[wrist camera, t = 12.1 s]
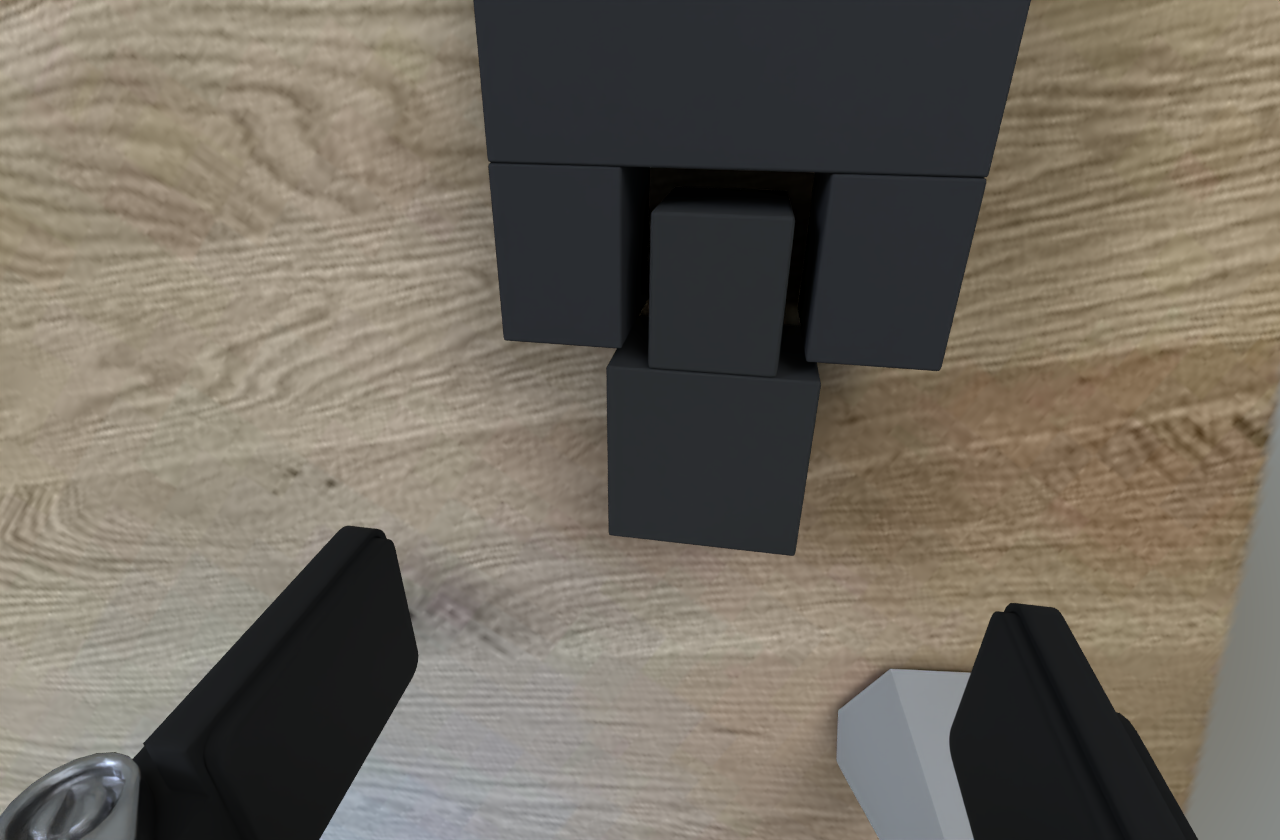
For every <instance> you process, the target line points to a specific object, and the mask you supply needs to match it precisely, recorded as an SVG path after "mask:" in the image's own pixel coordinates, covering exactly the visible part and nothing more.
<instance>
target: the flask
mask: <svg viewBox="0 0 1280 840" xmlns="http://www.w3.org/2000/svg"><path fill="white" fill-rule="evenodd" d="M970 674H971V673H966V672H946V671H926V670H905V669H889V670H888V671H887V672H886V673H884V674H883V675H882V676H881V677H879V678H878V679H877V680H876V681H874V682H873V683H872V684H871V685H869V686H868V687H867V688H866V689H864V690H863V691H862V692H861V693H859V694H858V695H857V696H856V697H854V698H853V699H852V700H851V701H849V702H848V703H847V704H846V705H844V706H843V707H842V708H841V709H839V710H838V733H837V759H836V761H837V763H838V765H839V767H840V769H841V771H842V772H843V774H844V776H845V778H846V780H847V782H848V784H849V786H850V787H851V789H852V791H853V793H854V795H855V796H856V798H857V800H858V802H859V804H860V805H861V807H862V809H863V811H864V813H865V814H866V816H867V818H868V820H869V821H870V823H871V825H872V827H873V829H874V830H875V832H876V834H877V836H878V838H879V839H880V840H974V838H973V835H972V831H971V827H970V824H969V820H968V817H967V813H966V809H965V806H964V802H963V798H962V795H961V791H960V788H959V784H958V780H957V777H956V773H955V769H954V766H953V762H952V759H951V754H950V747H949V735H950V729H951V726H952V723H953V721H954V718H955V715H956V712H957V710H958V707H959V704H960V701H961V699H962V696H963V693H964V690H965V688H966V685H967V682H968V679H969V677H970Z"/></svg>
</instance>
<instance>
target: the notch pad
mask: <svg viewBox="0 0 1280 840" xmlns="http://www.w3.org/2000/svg"><path fill="white" fill-rule="evenodd" d="M1030 2H1031V0H474V12H475V23H476V34H477V45H478V56H479V67H480V78H481V90H482V101H483V112H484V123H485V134H486V145H487V156H488V161H489V162H491V163H489V166H488V168H489V179H490V190H491V201H492V212H493V223H494V234H495V246H496V257H497V268H498V279H499V290H500V301H501V312H502V324H503V335H504V340H507V341H521V342H535V343H549V344H563V345H577V346H591V347H605V348H622V346H623V344H624V342H625V340H626V338H627V336H628V335H629V333H630V331H631V329H632V327H633V325H634V323H635V322H636V320H637V318H638V316H639V314H640V312H641V311H642V309H643V307H644V305H645V303H646V301H647V299H648V252H649V195H650V167H652V168H685V169H717V170H750V171H782V172H815V173H814V181H813V189H812V197H811V205H810V212H809V220H808V228H807V236H806V244H805V252H804V260H803V267H802V275H801V283H800V291H799V299H798V307H797V308H798V314H799V320H800V326H801V332H802V339H803V345H804V351H805V357H806V361H808V362H818V363H832V364H846V365H860V366H874V367H888V368H902V369H916V370H930V371H939V370H940V369H941V367H942V363H943V359H944V355H945V350H946V346H947V342H948V338H949V334H950V330H951V326H952V322H953V318H954V313H955V309H956V305H957V301H958V297H959V293H960V289H961V285H962V281H963V276H964V272H965V268H966V264H967V260H968V256H969V252H970V248H971V244H972V239H973V235H974V231H975V227H976V223H977V219H978V215H979V211H980V207H981V202H982V198H983V194H984V190H985V186H986V179H985V178H984V177H987V176H988V174H989V171H990V166H991V162H992V158H993V154H994V150H995V146H996V142H997V138H998V134H999V130H1000V125H1001V121H1002V117H1003V113H1004V109H1005V105H1006V101H1007V97H1008V93H1009V88H1010V84H1011V80H1012V76H1013V72H1014V68H1015V64H1016V60H1017V56H1018V51H1019V47H1020V43H1021V39H1022V35H1023V31H1024V27H1025V23H1026V19H1027V14H1028V10H1029V6H1030Z"/></svg>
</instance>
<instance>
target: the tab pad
mask: <svg viewBox="0 0 1280 840" xmlns="http://www.w3.org/2000/svg"><path fill="white" fill-rule="evenodd" d="M794 227H795V218H794V214H793V210H792V206H791V202H790V198H789V194H788V191H786V190H766V189H737V188H709V187H680V186H676V187H674V188H673V189H672V190H671V191H670V192H669V193H668V195H667V196H666V197H665V198H664V199H663V200H662V201H661V202H660V203H659V205H658V206H657V207H656V208H655V209H654V210H653V211H652V213H651V231H650V286H649V316H638V318H637V320H636V322H635V323H634V325H633V327H632V329H631V331H630V333H629V335H628V336H627V338H626V340H625V342H624V344H623V346H622V348H617V350H616V351H615V353H614V355H613V357H612V359H611V360H610V362H609V364H608V366H607V368H606V369H607V444H608V518H609V535H614V536H622V537H631V538H640V539H649V540H658V541H666V542H675V543H684V544H693V545H702V546H710V547H719V548H728V549H737V550H746V551H754V552H763V553H772V554H781V555H790V556H794V554H795V551H796V545H797V538H798V531H799V525H800V518H801V512H802V505H803V499H804V492H805V486H806V479H807V472H808V466H809V459H810V453H811V446H812V440H813V433H814V427H815V420H816V414H817V407H818V400H819V394H820V387H821V382H820V377H819V372H818V367H817V362H808V361H806V357H805V351H804V345H803V339H802V332H801V326H792V325H783V320H784V312H785V303H786V295H787V286H788V278H789V269H790V261H791V252H792V244H793V235H794Z"/></svg>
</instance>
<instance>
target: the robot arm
mask: <svg viewBox="0 0 1280 840" xmlns="http://www.w3.org/2000/svg"><path fill="white" fill-rule="evenodd" d="M417 663H418V650H417V645H416V641H415V636H414V631H413V627H412V622H411V618H410V613H409V609H408V604H407V600H406V595H405V591H404V586H403V582H402V577H401V573H400V568H399V564H398V559H397V554H396V550H395V546H394V543H393V542H392V541H391V540H389V539H387V538H386V536H385V533H384V532H383V531H382V530H379V529H372V528H364V527H355V526H345V527H343V528H342V529H340V530H339V531H338V532H337V533H336V534H335V535H334V536H333V537H332V539H331V540H330V541H329V542H328V543H327V544H326V545H325V546H324V547H323V548H322V549H321V551H320V552H319V553H318V554H317V555H316V556H315V557H314V558H313V559H312V560H311V561H310V563H309V564H308V565H307V566H306V567H305V568H304V569H303V570H302V571H301V572H300V573H299V575H298V576H297V577H296V578H295V579H294V580H293V581H292V582H291V583H290V584H289V585H288V586H287V588H286V589H285V590H284V591H283V592H282V593H281V594H280V595H279V596H278V597H277V598H276V600H275V601H274V602H273V603H272V604H271V605H270V606H269V607H268V608H267V609H266V610H265V612H264V613H263V614H262V615H261V616H260V617H259V618H258V619H257V620H256V621H255V622H254V624H253V625H252V626H251V627H250V628H249V629H248V630H247V631H246V632H245V633H244V634H243V635H242V637H241V638H240V639H239V640H238V641H237V642H236V643H235V644H234V645H233V646H232V647H231V649H230V650H229V651H228V652H227V653H226V654H225V655H224V656H223V657H222V658H221V659H220V661H219V662H218V663H217V664H216V665H215V666H214V667H213V668H212V669H211V670H210V671H209V673H208V674H207V675H206V676H205V677H204V678H203V679H202V680H201V681H200V682H199V683H198V684H197V686H196V687H195V688H194V689H193V690H192V691H191V692H190V693H189V694H188V695H187V696H186V698H185V699H184V700H183V701H182V702H181V703H180V704H179V705H178V706H177V707H176V708H175V710H174V711H173V712H172V713H171V714H170V715H169V716H168V717H167V718H166V719H165V720H164V722H163V723H162V724H161V725H160V726H159V727H158V728H157V729H156V730H155V731H154V732H153V733H152V735H151V736H150V737H149V738H148V739H147V740H146V741H145V742H144V743H143V744H144V747H143V748H142V749H141V751H140V752H139V753H138V754H137V755H136V756H135V757H134V758H133V759H131V758H130V757H129V756H126V755H123V754H120V753H116V752H110V753H96V754H92V755H89V756H85V757H82V758H78V759H75V760H73V761H71V762H69V763H67V764H64V765H62V766H60V767H58V768H56V769H54V770H52V771H51V772H49V773H48V774H46V775H45V776H43V777H42V778H40V779H39V780H37V781H36V782H34V783H33V784H31V785H30V786H29V787H28V788H27V789H25V790H24V791H23V792H22V793H21V794H20V795H19V796H18V797H16V798H15V799H14V800H13V801H12V802H11V803H10V804H9V806H8V807H7V808H6V809H5V811H4V812H3V813H2V814H1V816H0V840H319V839H320V837H321V836H322V834H323V832H324V830H325V829H326V827H327V825H328V824H329V822H330V820H331V818H332V817H333V815H334V813H335V811H336V810H337V808H338V806H339V804H340V803H341V801H342V799H343V797H344V796H345V794H346V792H347V790H348V789H349V787H350V785H351V783H352V782H353V780H354V778H355V777H356V775H357V773H358V771H359V770H360V768H361V766H362V764H363V763H364V761H365V759H366V757H367V756H368V754H369V752H370V750H371V749H372V747H373V745H374V743H375V742H376V740H377V738H378V737H379V735H380V733H381V731H382V730H383V728H384V726H385V724H386V723H387V721H388V719H389V717H390V716H391V714H392V712H393V710H394V709H395V707H396V705H397V703H398V702H399V700H400V698H401V697H402V695H403V693H404V691H405V690H406V688H407V686H408V684H409V683H410V681H411V679H412V677H413V675H414V673H415V671H416V668H417ZM949 747H950V754H951V759H952V762H953V766H954V769H955V773H956V777H957V780H958V784H959V788H960V791H961V795H962V798H963V802H964V806H965V809H966V813H967V817H968V820H969V824H970V827H971V831H972V835H973V838H974V840H1198V838H1197V837H1196V835H1195V833H1194V832H1193V830H1192V828H1191V826H1190V825H1189V823H1188V821H1187V819H1186V817H1185V816H1184V814H1183V812H1182V810H1181V809H1180V807H1179V805H1178V803H1177V802H1176V800H1175V798H1174V796H1173V794H1172V793H1171V791H1170V789H1169V787H1168V786H1167V784H1166V782H1165V780H1164V779H1163V777H1162V775H1161V773H1160V772H1159V770H1158V768H1157V766H1156V765H1155V763H1154V761H1153V759H1152V757H1151V756H1150V754H1149V752H1148V750H1147V749H1146V747H1145V745H1144V743H1143V742H1142V740H1141V738H1140V736H1139V735H1138V733H1137V731H1136V730H1135V728H1134V727H1133V726H1132V724H1131V723H1130V721H1129V720H1128V719H1126V718H1125V717H1124V716H1123V715H1121V714H1120V713H1117V712H1115V710H1114V708H1113V706H1112V704H1111V703H1110V701H1109V699H1108V697H1107V695H1106V694H1105V692H1104V690H1103V688H1102V686H1101V684H1100V683H1099V681H1098V679H1097V677H1096V675H1095V674H1094V672H1093V670H1092V668H1091V666H1090V665H1089V663H1088V661H1087V659H1086V657H1085V655H1084V654H1083V652H1082V650H1081V648H1080V646H1079V645H1078V643H1077V641H1076V639H1075V637H1074V636H1073V634H1072V632H1071V630H1070V628H1069V627H1068V625H1067V623H1066V621H1065V619H1064V617H1063V616H1062V614H1061V613H1060V612H1059V611H1058V610H1057V609H1055V608H1052V607H1044V606H1035V605H1026V604H1018V603H1010V604H1009V605H1008V606H1007V607H1006V609H1005V611H1004V612H999V611H998V612H995V613H993V615H992V617H991V619H990V622H989V625H988V627H987V630H986V633H985V636H984V638H983V641H982V644H981V647H980V649H979V652H978V655H977V658H976V660H975V663H974V666H973V669H972V671H971V674H970V677H969V679H968V682H967V685H966V688H965V690H964V693H963V696H962V699H961V701H960V704H959V707H958V710H957V712H956V715H955V718H954V721H953V723H952V726H951V729H950V735H949Z"/></svg>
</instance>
